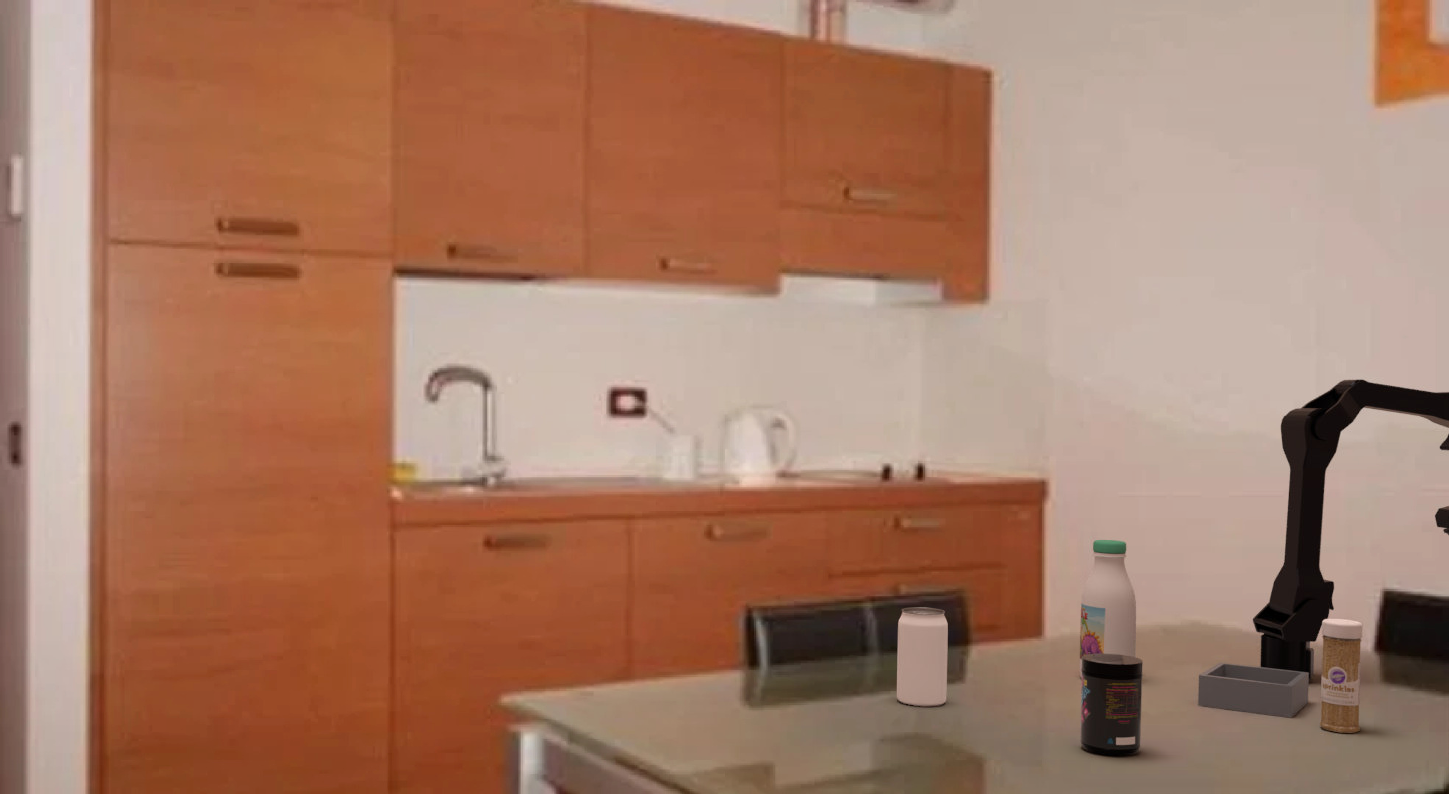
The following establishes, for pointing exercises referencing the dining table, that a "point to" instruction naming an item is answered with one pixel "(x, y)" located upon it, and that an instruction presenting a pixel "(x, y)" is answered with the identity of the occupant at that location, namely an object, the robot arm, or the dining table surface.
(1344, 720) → the sprinkles bottle
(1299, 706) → the bin
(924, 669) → the can
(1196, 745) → the dining table surface
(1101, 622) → the milk bottle
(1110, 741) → the supplement container
